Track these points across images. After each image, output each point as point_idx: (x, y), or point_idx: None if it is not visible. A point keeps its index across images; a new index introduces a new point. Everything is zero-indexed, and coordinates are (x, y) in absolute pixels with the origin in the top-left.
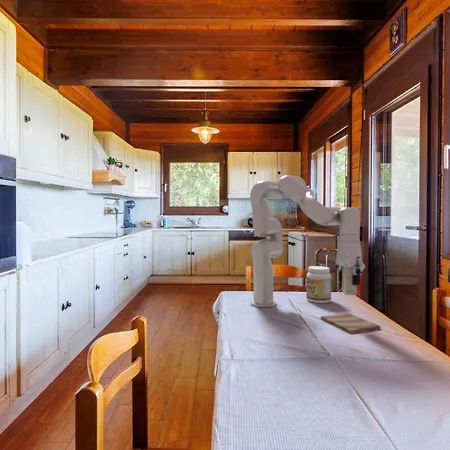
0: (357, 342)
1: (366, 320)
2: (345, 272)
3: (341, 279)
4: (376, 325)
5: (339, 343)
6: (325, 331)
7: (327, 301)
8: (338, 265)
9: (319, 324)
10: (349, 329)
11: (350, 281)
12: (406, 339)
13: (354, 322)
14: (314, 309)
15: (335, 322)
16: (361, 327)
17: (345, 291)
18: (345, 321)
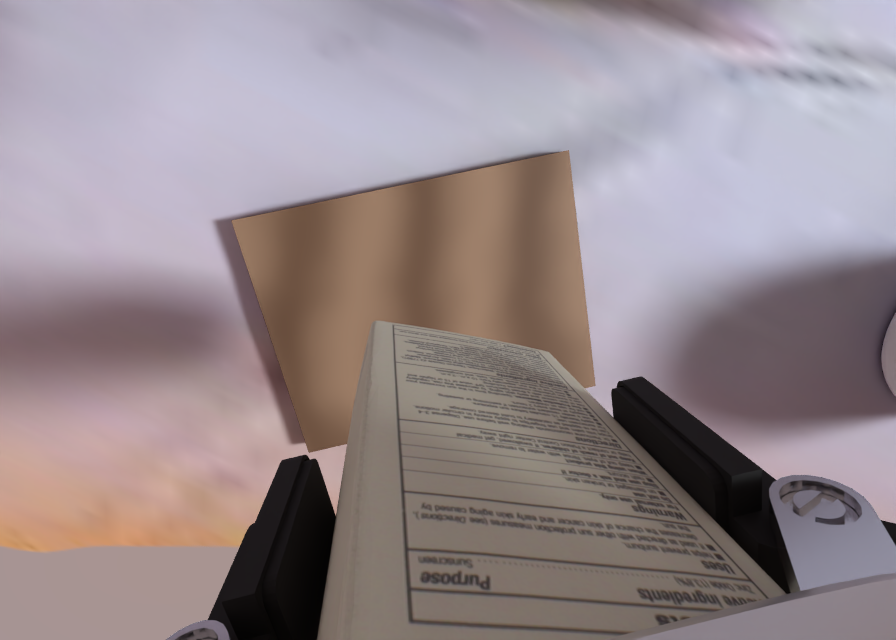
0: (66, 184)
1: None
2: (373, 507)
3: (627, 420)
4: (319, 435)
5: (37, 41)
6: (295, 58)
7: (887, 369)
8: (891, 574)
9: (453, 85)
10: (250, 225)
11: (345, 466)
12: (133, 490)
13: None
14: (785, 210)
15: (412, 197)
16: (288, 326)
17: (389, 333)
18: (424, 280)
